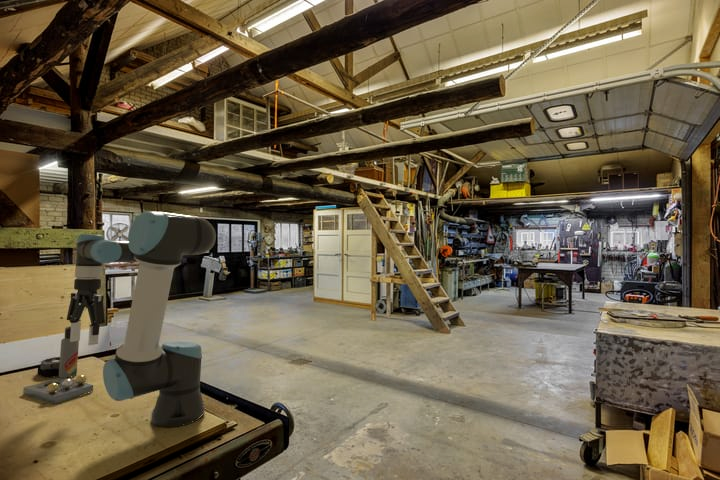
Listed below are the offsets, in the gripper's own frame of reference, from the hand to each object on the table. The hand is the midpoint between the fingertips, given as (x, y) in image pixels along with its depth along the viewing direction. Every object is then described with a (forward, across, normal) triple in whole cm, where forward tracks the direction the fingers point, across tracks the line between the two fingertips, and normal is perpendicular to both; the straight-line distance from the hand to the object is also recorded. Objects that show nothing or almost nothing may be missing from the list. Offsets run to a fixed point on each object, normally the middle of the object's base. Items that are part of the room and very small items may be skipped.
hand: (83, 342), depth 125 cm
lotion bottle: (+20, +28, -12) cm, 36 cm away
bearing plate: (+19, +12, 0) cm, 23 cm away
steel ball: (+15, +8, 0) cm, 17 cm away
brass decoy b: (+15, +8, +4) cm, 18 cm away
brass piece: (+15, +8, -5) cm, 18 cm away
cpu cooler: (+20, +36, -12) cm, 43 cm away
